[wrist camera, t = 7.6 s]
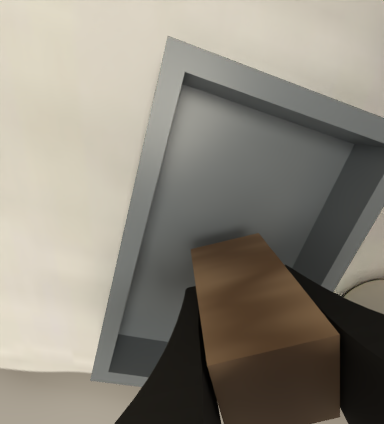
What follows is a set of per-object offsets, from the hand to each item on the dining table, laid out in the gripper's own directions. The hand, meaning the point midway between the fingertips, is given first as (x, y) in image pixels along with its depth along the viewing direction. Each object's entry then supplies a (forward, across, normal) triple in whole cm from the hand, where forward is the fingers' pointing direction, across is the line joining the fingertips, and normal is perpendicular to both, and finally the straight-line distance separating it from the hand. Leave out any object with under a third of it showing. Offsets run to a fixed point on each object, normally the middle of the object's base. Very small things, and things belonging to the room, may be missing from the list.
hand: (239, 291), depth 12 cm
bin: (+5, 0, 0) cm, 5 cm away
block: (+2, 0, 0) cm, 2 cm away
